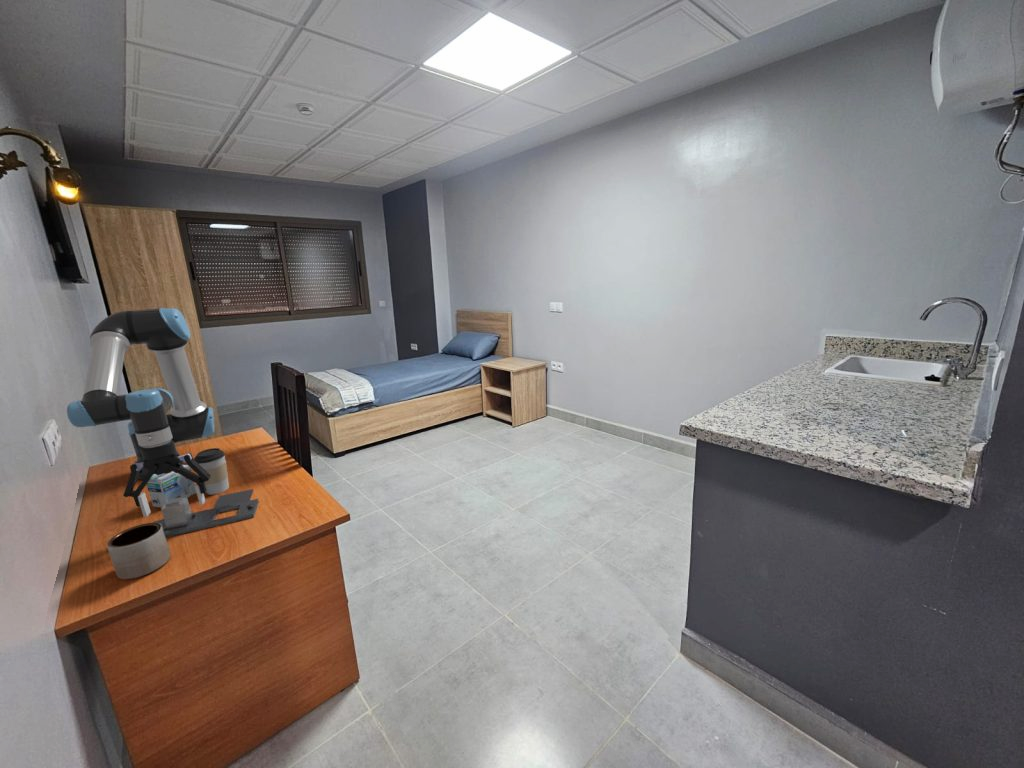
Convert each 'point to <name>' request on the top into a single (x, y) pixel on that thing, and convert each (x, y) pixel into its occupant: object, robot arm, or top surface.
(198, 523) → the rack rail
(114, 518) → the top surface
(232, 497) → the rubber mat
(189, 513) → the grey square block
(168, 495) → the light bulb box
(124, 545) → the planter
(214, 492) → the coffee cup
